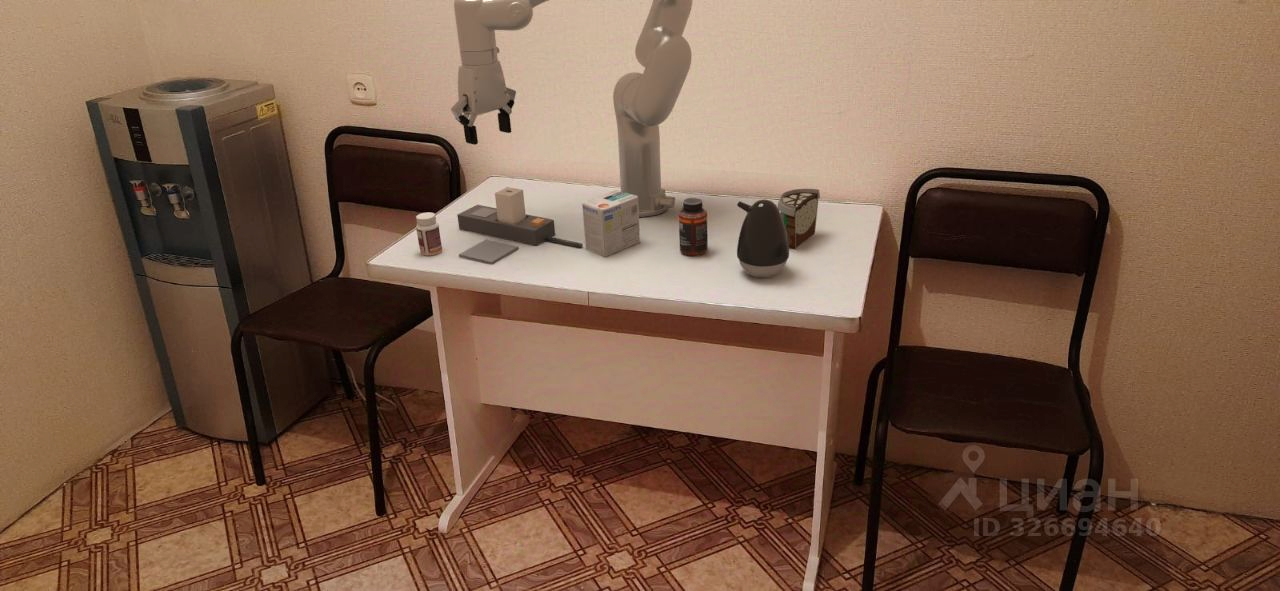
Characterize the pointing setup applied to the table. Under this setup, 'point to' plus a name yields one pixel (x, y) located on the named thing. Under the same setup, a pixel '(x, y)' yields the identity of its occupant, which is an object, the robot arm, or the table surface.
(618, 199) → the light bulb box
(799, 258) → the table surface
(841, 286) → the table surface
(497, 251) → the grey mat
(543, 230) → the power strip
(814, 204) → the food container
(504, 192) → the block
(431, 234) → the pill bottle
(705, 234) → the supplement bottle
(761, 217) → the pump dispenser
